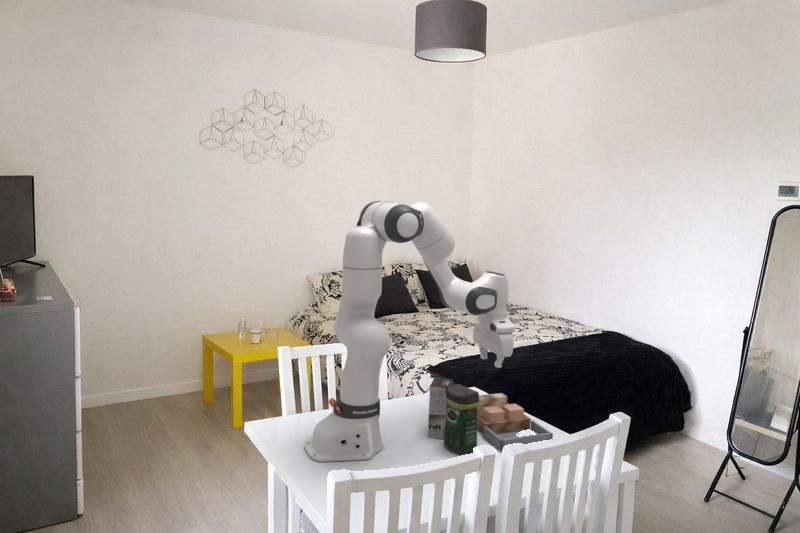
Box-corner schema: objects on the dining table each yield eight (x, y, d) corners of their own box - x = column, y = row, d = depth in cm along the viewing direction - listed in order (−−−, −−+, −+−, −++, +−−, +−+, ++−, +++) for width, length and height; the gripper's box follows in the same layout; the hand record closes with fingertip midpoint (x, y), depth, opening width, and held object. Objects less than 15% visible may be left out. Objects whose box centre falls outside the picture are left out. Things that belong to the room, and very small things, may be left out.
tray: (500, 452, 183) (501, 440, 182) (483, 437, 193) (483, 426, 192) (552, 444, 189) (552, 433, 189) (532, 430, 199) (533, 420, 199)
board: (485, 436, 193) (485, 424, 193) (462, 418, 207) (463, 407, 206) (529, 430, 199) (530, 418, 198) (505, 413, 213) (506, 402, 212)
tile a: (489, 422, 194) (490, 413, 194) (482, 416, 199) (482, 407, 198) (504, 420, 196) (504, 411, 196) (496, 414, 201) (496, 405, 200)
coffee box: (448, 439, 190) (450, 388, 188) (427, 437, 192) (429, 386, 189) (451, 428, 199) (454, 378, 197) (431, 425, 200) (433, 376, 198)
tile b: (509, 420, 197) (510, 410, 196) (501, 414, 201) (502, 405, 201) (523, 418, 199) (524, 409, 198) (515, 412, 203) (515, 403, 203)
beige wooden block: (474, 410, 204) (474, 400, 203) (469, 406, 207) (469, 396, 206) (506, 406, 208) (507, 396, 208) (501, 403, 211) (501, 393, 211)
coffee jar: (481, 451, 183) (484, 389, 180) (460, 457, 178) (463, 394, 176) (459, 439, 191) (462, 380, 188) (439, 445, 186) (441, 384, 184)
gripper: (469, 314, 212) (467, 354, 214) (500, 329, 193) (497, 373, 195) (485, 313, 214) (483, 353, 216) (518, 328, 195) (515, 371, 197)
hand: (490, 362), depth 205 cm, fingers open, 8 cm apart
